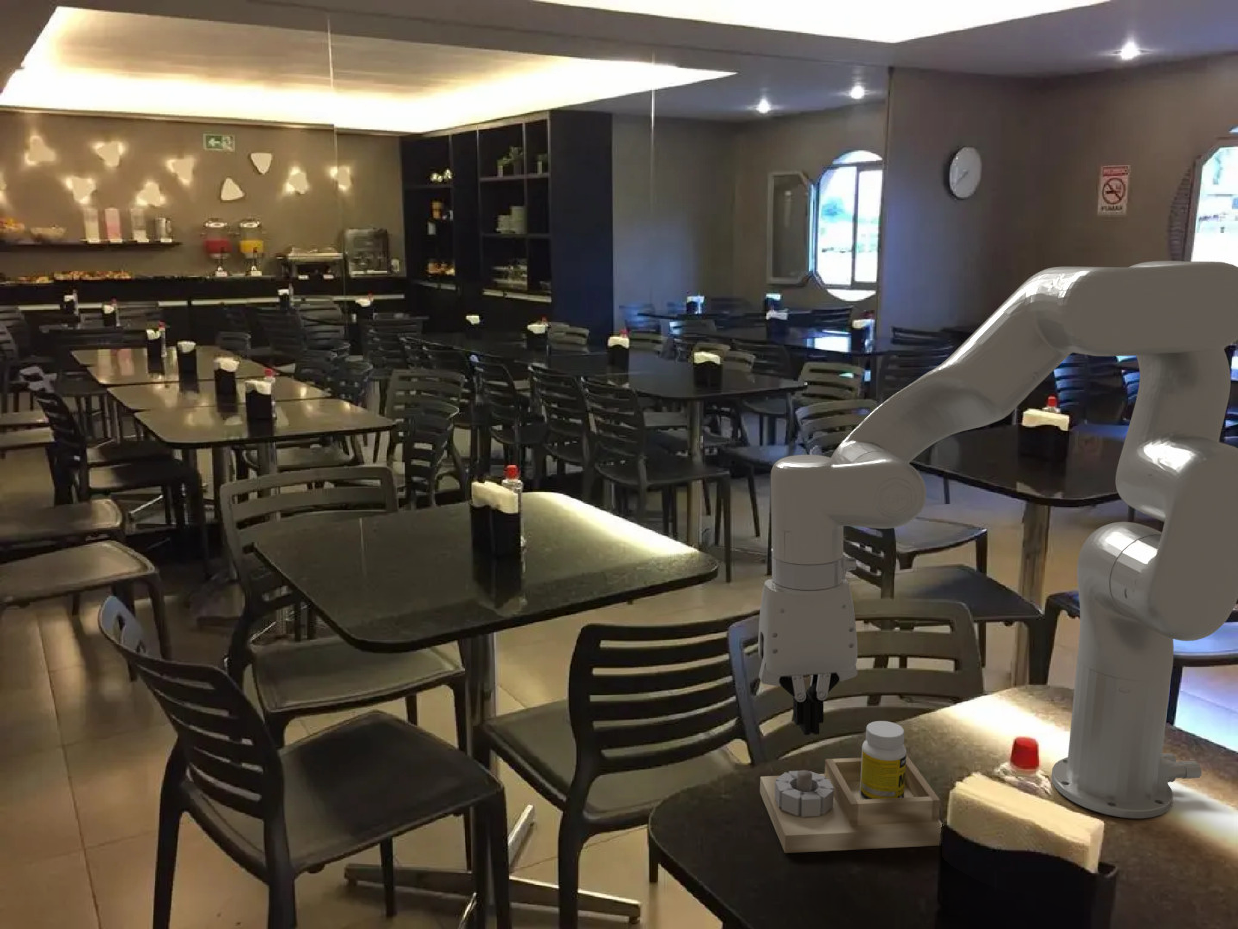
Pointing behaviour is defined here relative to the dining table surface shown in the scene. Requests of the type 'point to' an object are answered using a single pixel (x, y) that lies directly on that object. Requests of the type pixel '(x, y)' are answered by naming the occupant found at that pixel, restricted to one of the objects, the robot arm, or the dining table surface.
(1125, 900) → the dining table surface
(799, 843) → the wooden peg tray
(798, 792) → the wheel
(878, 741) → the supplement bottle
